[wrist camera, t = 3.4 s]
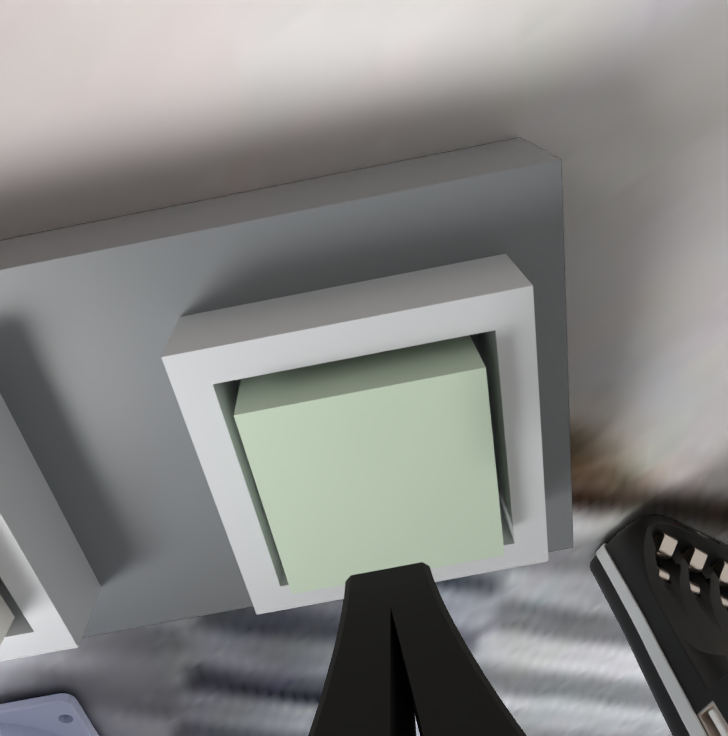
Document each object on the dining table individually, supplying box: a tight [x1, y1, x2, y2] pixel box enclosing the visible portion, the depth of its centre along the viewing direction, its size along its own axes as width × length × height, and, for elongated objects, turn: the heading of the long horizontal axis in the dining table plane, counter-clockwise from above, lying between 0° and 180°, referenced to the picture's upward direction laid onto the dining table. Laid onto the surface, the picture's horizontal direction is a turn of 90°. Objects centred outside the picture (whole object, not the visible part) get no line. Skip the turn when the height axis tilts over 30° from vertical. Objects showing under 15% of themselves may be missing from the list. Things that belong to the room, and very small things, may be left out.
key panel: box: [0, 138, 573, 662], centre depth 17 cm, size 11×22×5 cm, turn 100°
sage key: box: [234, 335, 505, 594], centre depth 14 cm, size 5×5×2 cm
